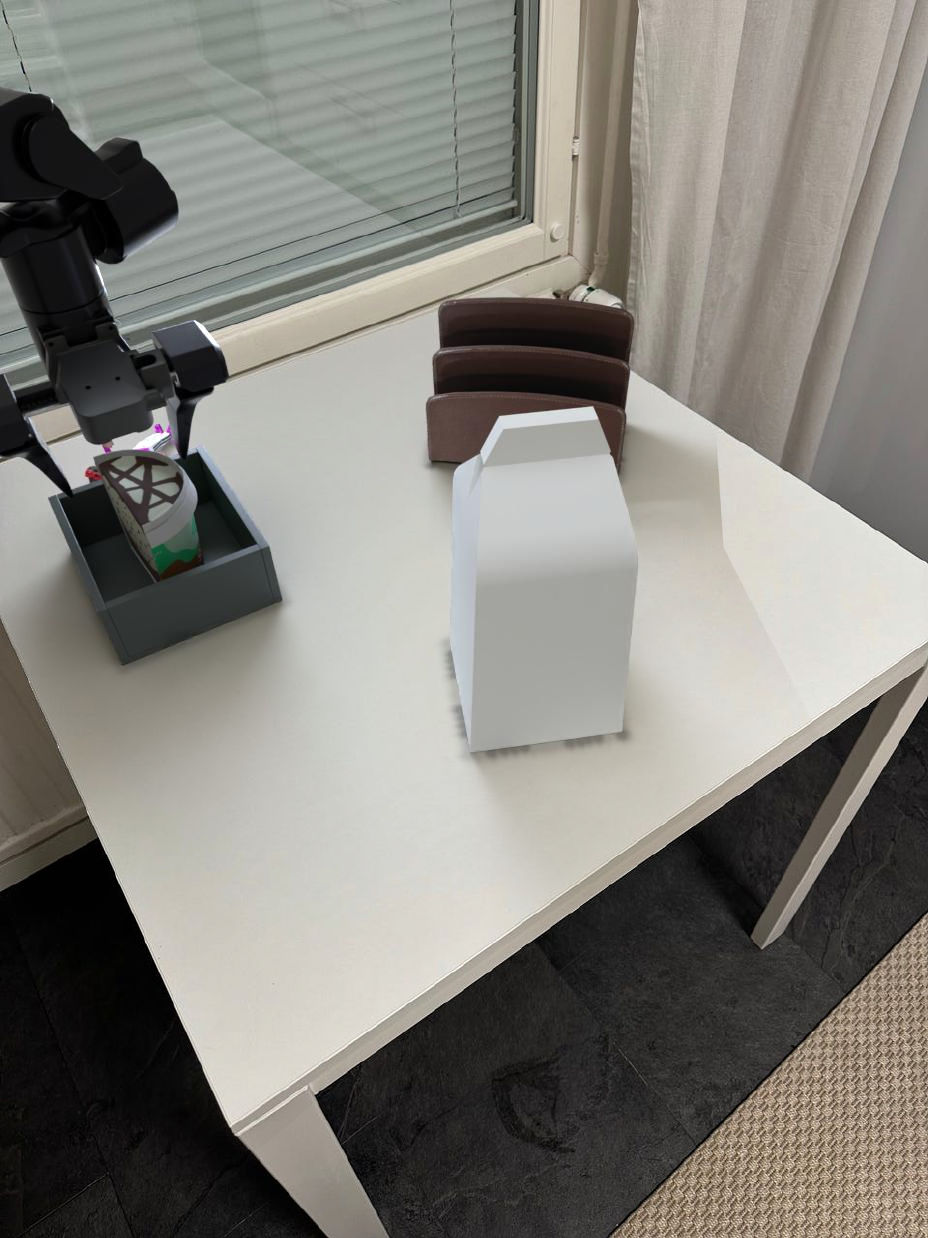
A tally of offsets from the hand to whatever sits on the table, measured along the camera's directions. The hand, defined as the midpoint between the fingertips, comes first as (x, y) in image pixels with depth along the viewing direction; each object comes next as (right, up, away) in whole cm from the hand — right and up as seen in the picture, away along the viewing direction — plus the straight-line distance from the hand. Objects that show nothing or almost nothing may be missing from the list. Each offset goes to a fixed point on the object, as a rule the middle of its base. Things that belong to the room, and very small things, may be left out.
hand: (128, 475), depth 72 cm
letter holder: (+34, +7, +23) cm, 42 cm away
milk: (+33, -17, +1) cm, 37 cm away
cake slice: (+1, -6, +11) cm, 12 cm away
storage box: (0, -8, +10) cm, 13 cm away
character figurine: (-7, +4, +21) cm, 22 cm away
